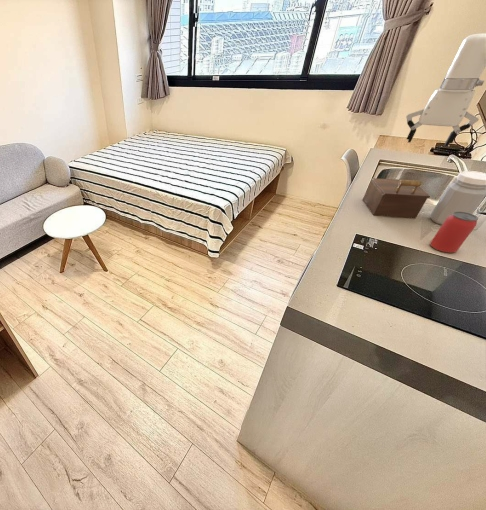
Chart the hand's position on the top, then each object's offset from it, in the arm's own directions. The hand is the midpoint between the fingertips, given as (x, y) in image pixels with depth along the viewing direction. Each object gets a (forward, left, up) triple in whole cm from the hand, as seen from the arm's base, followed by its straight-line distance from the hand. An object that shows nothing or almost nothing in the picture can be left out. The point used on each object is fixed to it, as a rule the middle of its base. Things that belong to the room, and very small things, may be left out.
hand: (427, 143), depth 94 cm
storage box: (0, -5, -27) cm, 27 cm away
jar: (-16, +3, -27) cm, 32 cm away
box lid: (0, -4, -18) cm, 19 cm away
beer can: (-7, +23, -27) cm, 36 cm away
